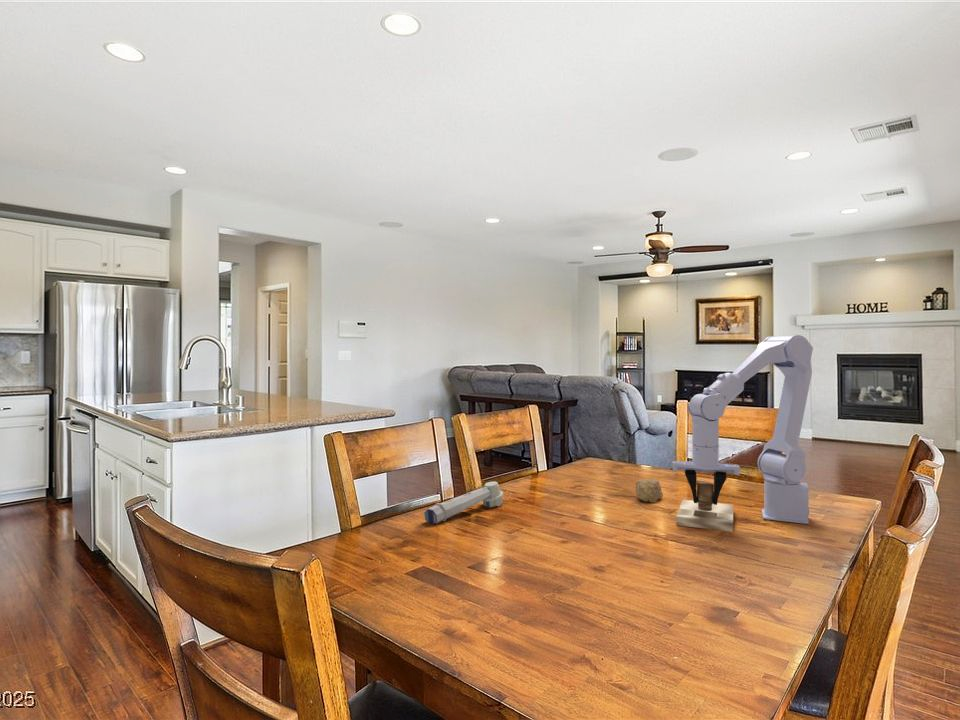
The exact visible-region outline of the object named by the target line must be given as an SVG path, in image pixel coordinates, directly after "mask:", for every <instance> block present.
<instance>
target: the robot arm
mask: <svg viewBox="0 0 960 720" xmlns="http://www.w3.org/2000/svg"><path fill="white" fill-rule="evenodd" d="M813 350H814V348H813V346H812V344H811V342H809V340H808V339H807V338H806V337H805V336H803V335H800V334H796V335H784V336H783V335H782V336H781V335H779V336H777V335H769V336H767V337H766V338H765V339H763V341H761V342H759V343H758V344H757V347H756V348H755V350H754V351H753V352H752V353H751V354H750V355H749V356H748V357H747V358H746V359H745V360H744V361H743V362H742V363H741V364H740V365H739V366H738V367H737V368H736V369H735V370H734V371H732V372H725V373H720V374H719V375H717V377H716V378H717V379H716V380H715V381H714V382H713V383H712V384H710V385H709V386H707V387H705V388H704V389H702V390H703V391H702V393H697V394H694V395H693V397H691V399H690V401H689V402H688V403H689V404H688V405H686V408H687V409H686V410H687V411H688V413H689V415H690V416H691V417H690V418H691V423H692V426H691V427H692V429H691V430H692V433H691V434H692V446H691V447H692V450H691V451H692V452H691V453H692V455H691V457H692V458H691V459H692V460H691V461H672V471H673V472H679V471H680V472H684V475H685V478H686V480H687V482H688V485H689V487H690V490H691V494H692V497H693V499H692V501H694V503H697V473H710V474H713V484H714V494H713V501H714V502H713V504H714V505H717V503H718V499H719V495H720V494H721V493H720V492H721V490H722V488H723V487H724V484H725V483H726V480H727V479H728V478H727V477H728V476H727V475H735V476H740V474H741V473H740V472H741V471H740V470H741V469H740V468H741V467H740V465H739V464H730V463H728V464H727V463H722V462H721V463H720V462H719V454H720V452H719V451H720V450H719V449H720V448H719V441H720V440H719V434H720V433H719V431H720V430H719V426H720V425H719V423H720V421H719V420H720V418H722V417H723V415H724V414H725V411H726V407H727V406H728V405H729V404H730V403H731V402H732V401H733V400H735V398H736V397H738V396H739V395H740V394H741V393H742V392H744V389H745V383H746V382H747V381H749V379H751V378H752V377H754V376H755V375H756V374H758V373H759V372H760V371H762V370H763V369H764V368H766V366H768V365H770V364H772V365H773V366H775V367H776V368H777V369H779V370H780V372H781V373H782V374H783V376H784V380H783V385H782V388H781V396H780V399H779V405H778V411H777V415H776V419H775V425H774V430H773V434H772V435H773V436H772V438H771V439H770V440H768V441H767V442H765V444H764V446H763V449H762V452H761V453H760V454H759V456H758V458H757V468H758V470H759V472H761V474H762V478H763V479H764V481H763V483H764V486H763V487H764V489H763V490H764V494H763V495H764V496H763V499H764V501H763V504H764V508H762V509H761V515H762V519H763V520H769V521H777V522H788V523H796V524H807V525H808V524H809V515H810V507H809V502H810V501H809V499H810V498H809V497H810V495H809V485H808V483H806V482H801V481H802V480H803V479H804V477H805V476H806V473H807V466H806V452H805V451H804V450H803V448H802V447H801V446H800V443H799V442H800V441H799V440H800V436H801V431H802V425H803V421H804V415H805V410H806V406H807V405H806V404H807V401H808V400H807V399H808V394H809V389H810V387H811V386H810V385H811V380H812V374H813V370H812V362H811V359H812V356H813Z"/></svg>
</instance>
